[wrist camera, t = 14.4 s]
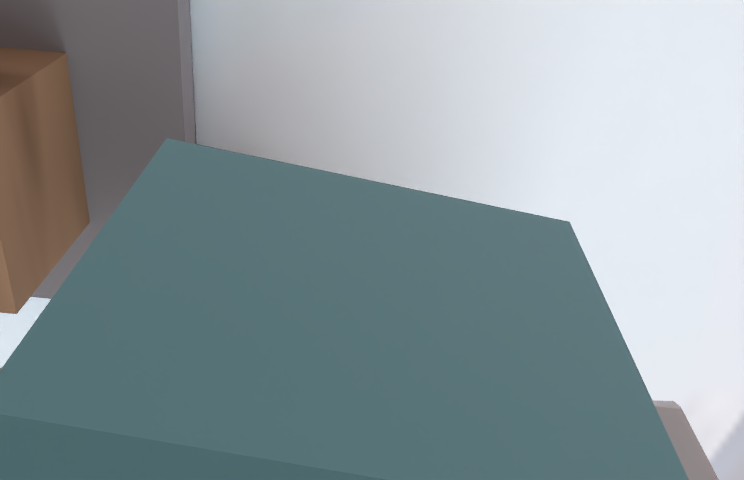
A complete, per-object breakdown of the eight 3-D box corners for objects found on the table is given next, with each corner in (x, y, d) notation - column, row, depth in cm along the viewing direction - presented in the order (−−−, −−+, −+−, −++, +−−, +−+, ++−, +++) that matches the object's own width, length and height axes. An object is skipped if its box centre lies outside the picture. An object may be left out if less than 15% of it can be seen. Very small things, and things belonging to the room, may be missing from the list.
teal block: (142, 437, 12) (3, 783, 8) (166, 137, 9) (-28, 409, 5) (458, 491, 12) (497, 843, 8) (569, 221, 10) (715, 534, 5)
